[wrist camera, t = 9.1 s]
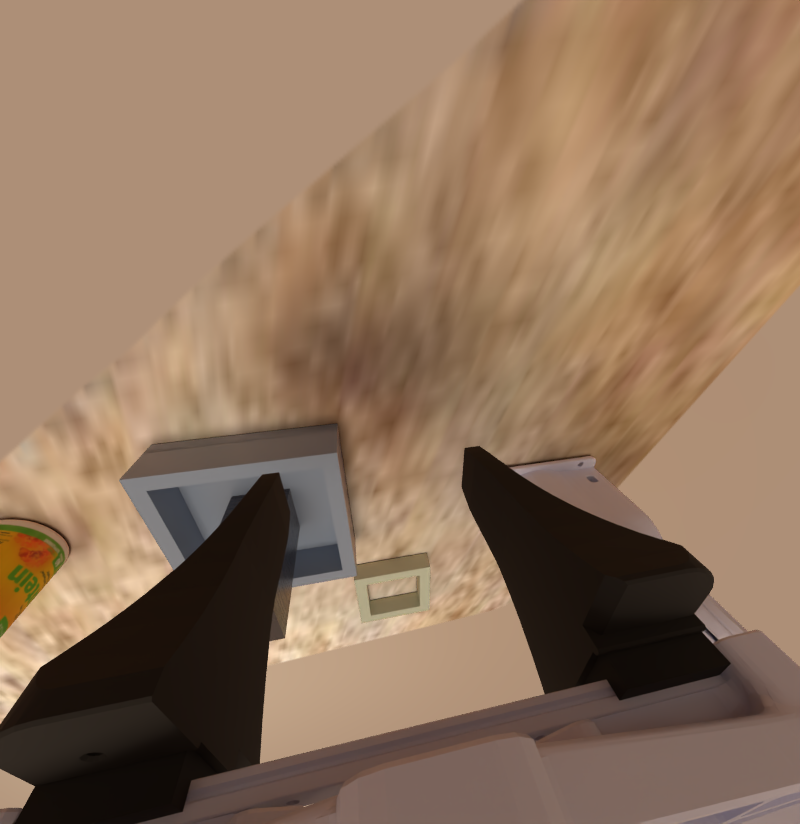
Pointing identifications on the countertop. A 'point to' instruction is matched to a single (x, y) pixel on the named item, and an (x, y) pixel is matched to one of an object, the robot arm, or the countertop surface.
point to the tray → (235, 475)
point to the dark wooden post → (286, 572)
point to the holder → (390, 572)
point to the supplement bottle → (26, 565)
